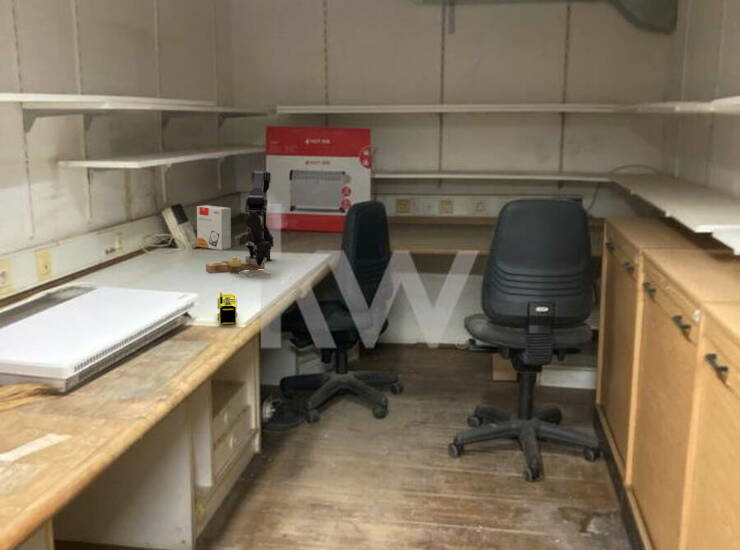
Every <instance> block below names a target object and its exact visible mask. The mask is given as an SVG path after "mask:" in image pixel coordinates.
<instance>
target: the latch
mask: <svg viewBox="0 0 740 550" xmlns="http://www.w3.org/2000/svg"><path fill="white" fill-rule="evenodd" d="M227 261H228V263H229V265H230V266H232V267H237V266H241V261H242V259H240V258H238V257H237V256H233V257H231V258H228V259H227Z"/></svg>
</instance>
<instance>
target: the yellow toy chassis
mask: <svg viewBox="0 0 740 550" xmlns="http://www.w3.org/2000/svg"><path fill="white" fill-rule="evenodd" d="M237 303H238V300H237V297H236V292H234V293H233V294H232V293H223V291H222V290H221V289H220V288H218V297H217V310H219V313H217V320H219V325H221V324H222V325H227V326H228V325H233V324H236V323H237V319H238V312H237V308H238V306H237V305H238V304H237Z"/></svg>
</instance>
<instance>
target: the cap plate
mask: <svg viewBox="0 0 740 550" xmlns="http://www.w3.org/2000/svg"><path fill="white" fill-rule="evenodd" d="M245 261H246V262H248V263H250V264H257V258H256V255H254V256H250V255H245ZM267 262H268V261H267V258H266V257H264V259H263V261H262V263H264V264H267Z"/></svg>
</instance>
